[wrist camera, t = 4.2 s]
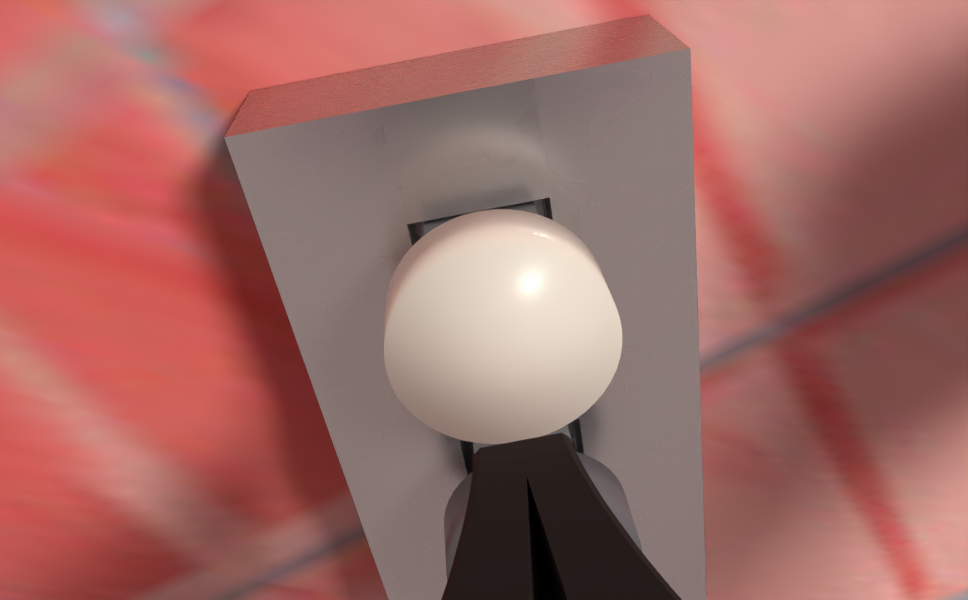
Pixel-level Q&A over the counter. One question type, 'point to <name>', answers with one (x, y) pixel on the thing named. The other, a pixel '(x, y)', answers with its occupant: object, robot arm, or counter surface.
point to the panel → (474, 187)
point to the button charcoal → (595, 469)
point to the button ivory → (499, 326)
